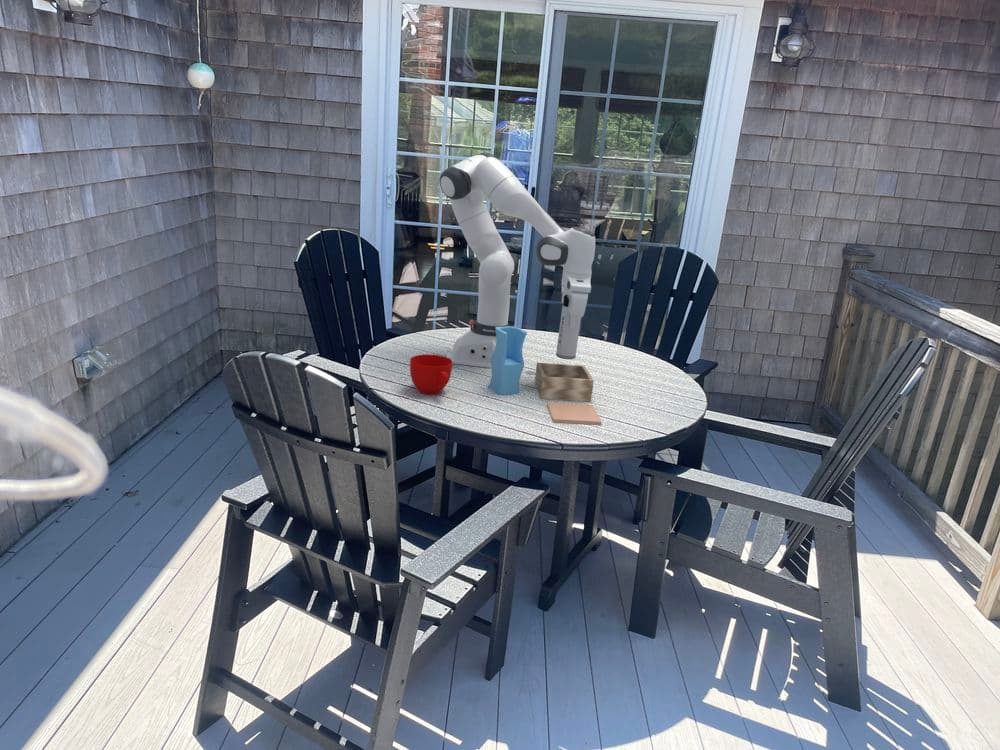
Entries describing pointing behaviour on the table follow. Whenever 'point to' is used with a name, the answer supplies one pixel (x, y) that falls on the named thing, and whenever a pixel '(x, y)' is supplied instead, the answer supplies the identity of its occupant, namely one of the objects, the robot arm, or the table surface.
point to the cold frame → (563, 382)
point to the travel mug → (567, 334)
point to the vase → (507, 360)
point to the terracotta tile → (573, 413)
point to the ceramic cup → (430, 372)
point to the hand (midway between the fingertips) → (569, 324)
